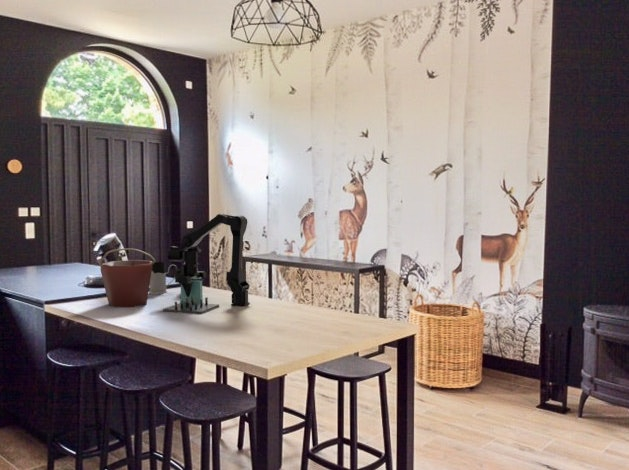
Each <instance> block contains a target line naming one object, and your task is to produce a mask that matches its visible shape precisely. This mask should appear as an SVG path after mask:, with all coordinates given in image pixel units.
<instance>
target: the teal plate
mask: <svg viewBox="0 0 629 470" xmlns="http://www.w3.org/2000/svg"><path fill="white" fill-rule="evenodd" d="M191 282H193V284H192V288H191V292H190V296H189V297H187V296H186V293H185V290H184V288H183V286H182V285H181V284H180V300H183V302H186V298H188V303H189V302H191V297H193V300H194V303H195V301H197V303H200V299H203V281H197V280H191Z"/></svg>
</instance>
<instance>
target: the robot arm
mask: <svg viewBox="0 0 629 470" xmlns="http://www.w3.org/2000/svg"><path fill="white" fill-rule="evenodd" d="M222 224H223V225H224V226H225V225H226V226H229V228H230V232H231V235H232V244H231V245H232V249H231V268H230V270H228V271H226V280H225V281H226V283H227V286H228V287H229V288H230V291H231V304H230V306H237V307H238V306H240V307H244V306H247V305H250V304H251V303H250V302H249V289H250V286H251V285H250V284H249V283H248V281H247V280H246V279H245V278H246V277H245V273H244V270H243V250H244V248H243V247H244V235H245V233H246V230H247V228H248V227H247V226H248V219H247V217H245V216H244V215H231V214H230V215H229V214H225V213H218V214H216V216H214V217H213V218H212V219H210V220H208V221H207V222H206V223H205V224H203V225H202V226H201V227H199V228H198V229H196V230H194V231H192V232H189V233H186V234H185V235H184V236H183V237H182V238H181V239H182V240H181V242H180V243H179V246H175V245H173V246H170V247H169V250H168V253H167V259H168V261H169V262H183V261H184V263H185V264H184V263H183V264H182V265H181V267H180V268H178V267H177V266H175V267H173V268H172V269H171V275H173V276H174V277H175V279H174V283H178V284H179V285H180V286H181V285H182V286H183V288H184V290H185V293H186V296H187V297H189V296H190V292H191V288H192V284H193V282H191V280H197V281H202V282H204V280H205V279H206V278H208V276H207V275H208V274H207V272H206V271H204V270H203V271H202V270H201V271H199V269H198V267H199V266H200V263H198V253H201V252H202V249H201V248H200V247H199V246H198V245H199V244H200V242H201V241H202V240H203V238H205V236H207V235H209V233H211V232H213V231H214V230H216V228H218V227H220V226H221V225H222Z"/></svg>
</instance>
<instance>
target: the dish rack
mask: <svg viewBox="0 0 629 470" xmlns="http://www.w3.org/2000/svg"><path fill="white" fill-rule="evenodd" d="M179 301H180V303H178V301H175V302H174V305H171V306H168V307H165V308H163V309H162V312H164V313H167V312H168V313H178V312H180V313H179V314H181V312H182V314H193V313H195V315H202V313H203V314H205V313H207V312H210V311H213V310H214V308H215V309H217V308H219V307H220V304H217V303H208V302H209V301H208V297H207V296H206V297H205V298H204V302H205V303H203V299H200V303H197V301H195V303H194V300H193V297H191V303H189V302H188V298H186V302H183V300H181V299H180V300H179ZM196 313H197V314H196Z"/></svg>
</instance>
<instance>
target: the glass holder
mask: <svg viewBox="0 0 629 470" xmlns="http://www.w3.org/2000/svg"><path fill="white" fill-rule="evenodd" d="M172 266H174V267H176V264H170V265H169V266H168V268H167V272H166V263H165V262H164V261H163V262H161V261H155V263H154V264H153V265H152V273H151V279H150V285H149V292H148V295H163V294H167V293H168V291H167V288H168V286H169V285H170V284H172V282H174V281H175V278H176V277H175V276H174V277H173V279H172V280H171V281H169V283H167V278H166V277H167V276H166V275H167V274H169V272H170V268H171V267H172Z"/></svg>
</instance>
